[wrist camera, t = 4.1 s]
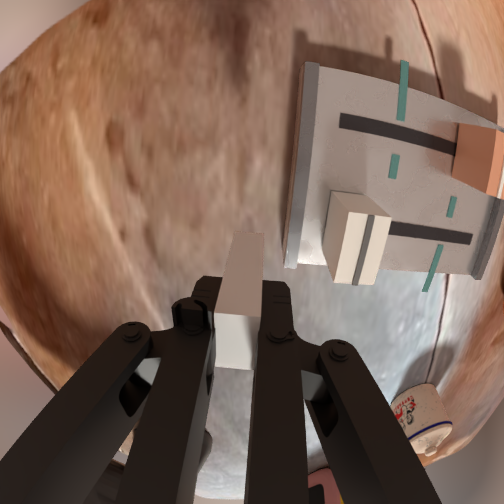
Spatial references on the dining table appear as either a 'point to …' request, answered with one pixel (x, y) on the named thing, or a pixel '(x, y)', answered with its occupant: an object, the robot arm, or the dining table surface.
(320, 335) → the dining table surface
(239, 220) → the dining table surface
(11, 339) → the dining table surface
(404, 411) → the teacup with lid
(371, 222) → the fader
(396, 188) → the console
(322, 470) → the alarm clock
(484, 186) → the fader
